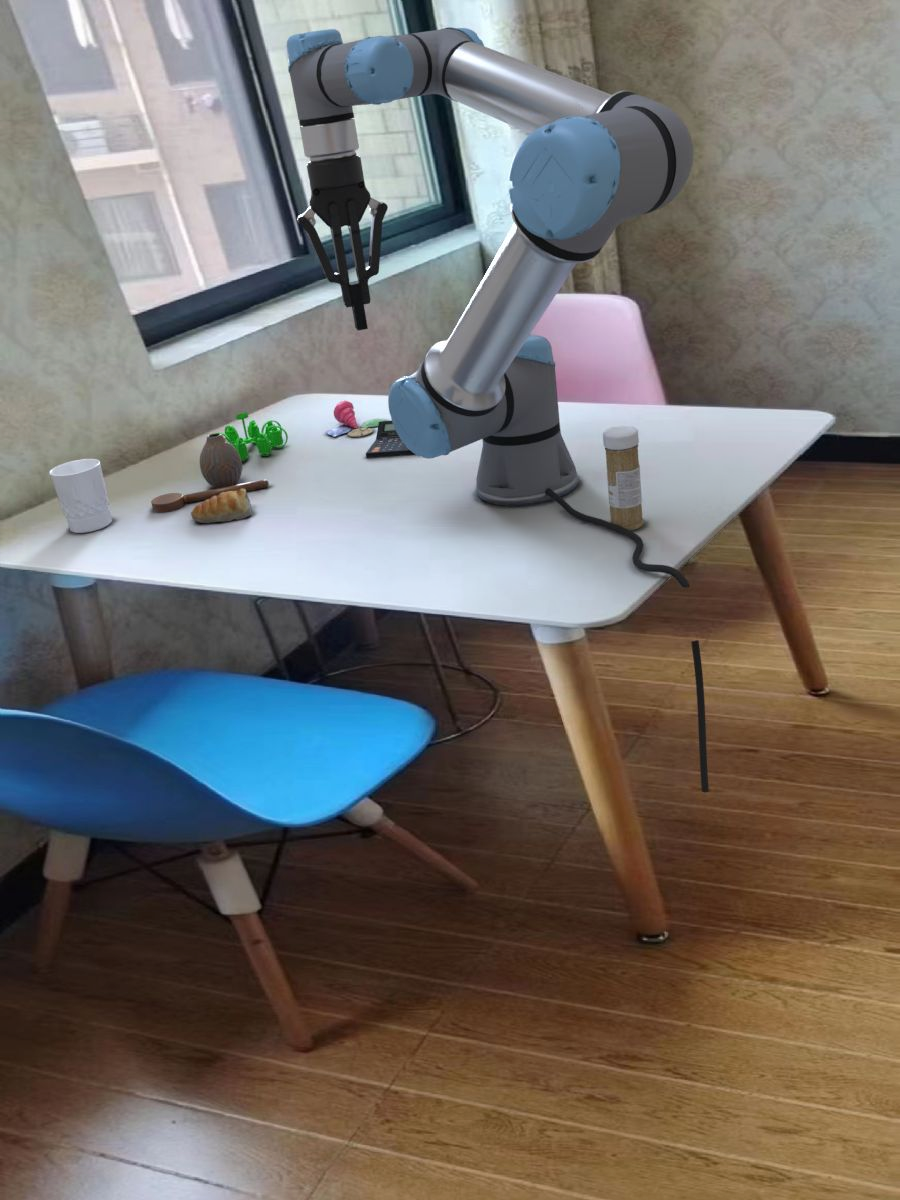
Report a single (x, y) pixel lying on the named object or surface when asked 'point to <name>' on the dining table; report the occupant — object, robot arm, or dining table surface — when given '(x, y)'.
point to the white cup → (82, 494)
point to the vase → (220, 462)
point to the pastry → (223, 507)
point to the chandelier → (255, 437)
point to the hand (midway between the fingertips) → (361, 327)
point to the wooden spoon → (199, 496)
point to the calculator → (387, 442)
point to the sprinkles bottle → (623, 476)
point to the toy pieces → (350, 421)
